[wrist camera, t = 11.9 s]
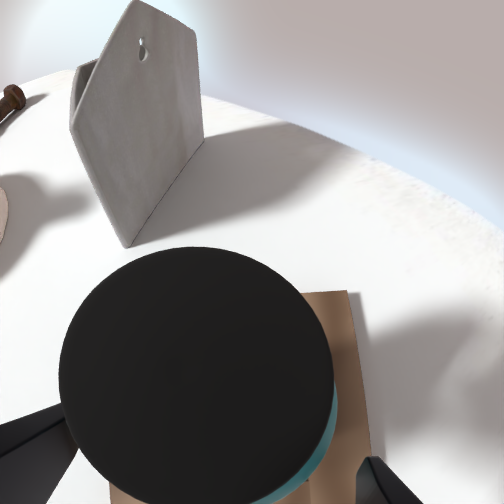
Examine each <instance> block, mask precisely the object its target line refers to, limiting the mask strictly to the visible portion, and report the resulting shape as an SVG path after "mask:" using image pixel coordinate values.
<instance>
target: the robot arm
mask: <svg viewBox="0 0 504 504" xmlns="http://www.w3.org/2000/svg"><path fill="white" fill-rule="evenodd" d="M78 449H79V447H78V445H77V443H76V442H75V440H74V438H73V436H72V434H71V432H70V429H69V427H68V425H67V422H66V419H65V416H64V412H63V409H62V405H61V403H59V404H56V405H54V406H51V407H49V408H46V409H43V410H40V411H38V412H35V413H32V414H30V415H27V416H24V417H21V418H18V419H16V420H13V421H10V422H7V423H4V424H1V425H0V504H46V503H47V501H48V500H49V498H50V496H51V495H52V493H53V491H54V490H55V488H56V486H57V485H58V483H59V481H60V480H61V478H62V477H63V475H64V473H65V472H66V470H67V469H68V467H69V465H70V464H71V462H72V460H73V459H74V457H75V455H76V453H77V451H78ZM355 504H423V503H422V502H421V501H420V500H419V499H418V497H417V496H416V495H415V494H414V493H413V492H412V491H411V490H410V489H409V488H408V487H407V486H406V485H405V484H404V483H403V482H402V481H401V480H400V479H399V478H398V477H397V475H396V474H395V473H394V472H393V471H392V470H391V469H390V468H389V467H388V466H387V465H386V464H385V463H384V462H383V460H382V459H381V458H380V457H378V456H367V457H365V459H364V460H363V462H362V464H361V466H360V467H359V469H358V471H357V473H356V496H355Z"/></svg>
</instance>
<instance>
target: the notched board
mask: <svg viewBox="0 0 504 504" xmlns="http://www.w3.org/2000/svg"><path fill="white" fill-rule="evenodd" d="M300 294H301V295H302V296H303V297H304V298H305V300H306V301H307V302H308V304H309V305H310V306H311V307H312V309H313V310H314V312H315V314H316V316H317V317H318V319H319V321H320V322H321V324H322V327H323V329H324V332H325V335H326V337H327V340H328V343H329V347H330V351H331V354H332V361H333V368H334V381H335V386H336V392H337V402H338V403H337V419H336V425H335V430H334V434H333V437H332V440H331V443H330V445H329V447H328V450H327V452H326V454H325V456H324V458H323V459H322V461H321V462H320V464H319V465H318V467H317V468H316V470H315V471H314V472H313V473H312V474H311V475H310V477H309V478H308V479H307V480H306V481H305V482H304V483H303V484H302V485H300V486H299V487H298V488H297V489H296V490H295V491H293V492H292V493H290V494H289V495H287V496H286V497H284V498H283V499H281V500H279V501H277V502H274V503H272V504H355V496H356V473H357V471H358V469H359V467H360V466H361V464H362V462H363V460H364V459H365V457H367V456H371V446H370V436H369V427H368V418H367V410H366V402H365V395H364V387H363V380H362V374H361V367H360V360H359V354H358V348H357V342H356V336H355V331H354V325H353V320H352V314H351V309H350V304H349V299H348V294H347V290H342V291H327V292H311V293H300ZM109 486H110V500H111V504H147V503H144V502H142V501H139V500H137V499H135V498H133V497H131V496H130V495H128V494H126V493H124V492H123V491H121V490H119V489H118V488H117V487H116V486H114V485H113V484H112V483H110V482H109Z"/></svg>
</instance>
